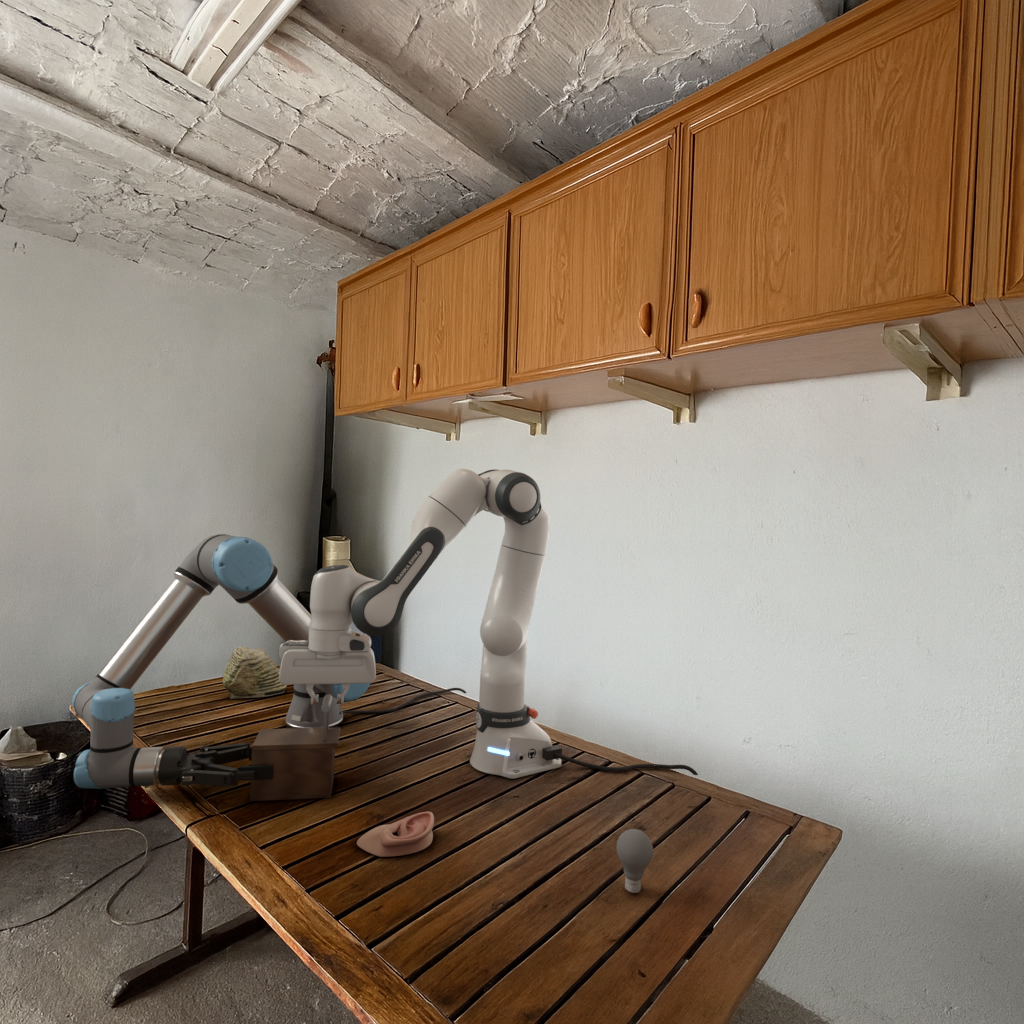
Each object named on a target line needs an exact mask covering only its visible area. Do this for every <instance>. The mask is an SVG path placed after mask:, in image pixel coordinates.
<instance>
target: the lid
mask: <svg viewBox="0 0 1024 1024" xmlns="http://www.w3.org/2000/svg"><path fill="white" fill-rule="evenodd" d="M331 702H332V695H330V694H327V695H325V697H324V700H323V703H322V707H321V711H322V712H323V713H324V714H323V728H293V729H289V728H261V729H260V730H259V732H258V734H257V735H256V738H255V739H254V741H253V743H252V745H251V747H252V751H256V750H288V749H320V748H335V749H338V748H339V747H338V746H339V741H340V735H341V727H340V726H337V727H332V728H329V710H330V706H331Z"/></svg>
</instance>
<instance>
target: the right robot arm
mask: <svg viewBox="0 0 1024 1024" xmlns="http://www.w3.org/2000/svg"><path fill="white" fill-rule="evenodd" d="M482 511H485V512H487V513H491V514H492V515H495V516H497V517H502V518H503V522H504V534H503V536H502V537H503V538H502V541H501V544H500V548H499V553H498V557H497V562H496V565H495V570H494V574H493V579H492V582H491V586H490V588H489V593H488V596H487V600H486V603H485V608H484V612H483V615H482V619H481V623H480V627H479V634H480V636H479V637H480V639H481V642H482V652H481V653H482V655H481V665H480V673H479V674H480V676H479V696H478V700H479V701H478V704H476V705H477V706H476V716H475V724H476V735H475V740H474V745H473V749H472V753H471V756H470V759H469V764H470V766H472V767H473V768H474V769H475V770H476V771H479V772H482V773H485V774H489V775H496V776H501V777H504V778H507V779H511V780H512V779H518V778H522V777H527V776H530V775H534V774H538V773H542V772H547V771H550V770H554V769H558V768H561V767H562V766H563V765H562V764H563V763H562V760H563V761H566V762H569V763H571V764H575V765H578V766H581V767H585V768H589V769H593V770H597V771H598V770H599V771H604V772H612V773H613V772H614V773H616V772H617V773H618V772H619V773H620V772H626V771H632V770H638V769H661V770H686V771H688V772H690V773H691V774H692V775H694V776H698V775H699V773H698V772H697V771H696V770H695V769H694V768H693V767H692V766H689V765H686V764H661V763H659V764H658V763H636V764H631V765H626V766H619V767H618V766H617V767H614V766H604V765H599V764H594V763H589V762H585V761H582V760H579V759H575V758H572V757H570V756H566V755H564V754H563V748H562V747H561V746H559V745H557V744H554V745H553V744H552V739H551V737H550V735H549V734H548V732H546V731H545V730H544V729H542V727H540V725H538V724H536V722H534V721H533V720H536V719H538V717H539V711H538V710H536V709H535V708H531V707H530V706H529V705H528V704H525V696H526V694H525V693H526V674H527V657H528V656H527V655H528V654H527V653H528V635H529V627H530V624H531V619H532V616H533V615H532V614H533V610H534V606H535V601H536V597H537V593H538V588H539V584H540V580H541V575H542V571H543V567H544V563H545V559H546V556H547V555H546V554H547V550H548V546H549V545H548V544H549V538H550V524H551V520H550V519H551V518H550V515H549V514H548V512H547V511H546V509H543V508H542V502H541V490H540V488H539V484H538V483H537V482H536V480H535V479H533V477H531V476H530V475H528V474H526V473H523V472H519V471H515V470H512V469H489V470H485V471H483V472H480V473H476V472H475V471H473V470H471V469H468V468H458V469H456V470H454V471H453V472H452V473H451V474H449V475H448V476H447V477H446V478H444V480H442V481H441V482H440V483H439V484H438V485H437V486H436V487H435V488H434V489H433V491H431V493H430V494H429V495H428V497H426V499H425V500H424V501H423V502H422V504H421V505H420V507H419V508H418V510H417V511H416V513H415V515H414V516H413V518H412V521H411V531H410V538H409V541H408V544H407V546H406V547H405V550H404V551H403V553H402V554H401V555H400V556H399V558H398V559H397V561H396V562H395V563H394V564H393V565H392V567H391V568H390V570H389V571H388V572H386V573H387V574H386V575H385V576H384V577H383V578H382V579H381V580H377V579H374V578H371V577H368V576H365V575H363V574H361V573H359V572H358V571H356V570H354V569H352V567H351V566H349V565H346V564H335V565H329V566H325V567H322V568H320V569H318V570H317V571H316V572H315V573H314V575H313V576H312V581H311V586H310V594H309V595H310V596H309V597H310V598H309V609H310V614H311V621H310V624H309V640H297V641H293V640H288V641H287V642H286V641H284V642H282V643H281V644H280V646H279V648H278V658H279V659H280V666H279V670H280V672H279V681H280V682H281V684H283V685H289V686H291V685H293V686H294V685H296V684H306V690H307V692H308V693H309V695H310V697H311V704H318V702H319V699H318V698H319V694H315V693H314V691H313V686H314V684H343V689H344V690H343V691H342V693H341V694H337V703H336V704H340V705H344V702H345V701H344V696H345V694H346V693H347V691H348V689H349V686H350V684H361V683H370V684H373V683H374V682H375V680H376V679H377V667H376V665H377V664H376V657H375V652H374V650H373V649H372V648H371V647H372V638H371V637H379V636H383V635H386V634H388V633H390V632H392V631H393V630H394V629H395V628H396V627H397V625H399V623H400V620H401V618H402V615H403V613H404V607H405V604H406V602H407V600H408V598H409V596H410V595H411V593H412V592H413V590H414V589H415V588H416V586H417V585H418V584H419V583H420V581H421V580H422V579H423V577H424V576H425V574H426V573H427V571H428V570H429V569H430V567H431V566H432V565H433V563H434V562H435V561H436V560H437V559H438V557H440V555H442V553H444V551H446V550H447V548H448V547H450V546H451V544H452V543H453V542H454V541H455V540H456V539H458V537H459V536H460V535H461V534H462V533H463V531H464V530H465V529H466V527H467V526H468V525H469V524H470V522H472V520H473V518H474V517H475V516H477V514H479V513H480V512H482ZM352 624H353V625H354V626H355V627H356V629H357V630H358V631H360V632H358V631H356V630H355V631H354V630H352ZM531 719H533V720H531ZM654 765H655V766H654Z"/></svg>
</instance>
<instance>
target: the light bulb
mask: <svg viewBox="0 0 1024 1024" xmlns="http://www.w3.org/2000/svg"><path fill="white" fill-rule="evenodd" d="M615 849H616V854H617V857H618V859H619V861H620V863H621V865H622V867H623V873H624V874H623V875H624V876H625V878H624V888H625V890H627V891H628V892H630V893H634V894H635V893H639V892H640V891H641V889H642V887H641V886H642V879H643V877H644V875H645V871H646V868H647V867H648V866H649V864H650V863H651V861H652V859H653V855H654V847H653V843H652V841H651V838H649V836H648V835H647V834H646V833H645V832H643V831H642V830H641V829H636V828H629V829H627V830H625V831H623V832H622V833H621V834H620V835H619V837H618V839H617V841H616V847H615Z"/></svg>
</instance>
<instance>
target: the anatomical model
mask: <svg viewBox="0 0 1024 1024" xmlns="http://www.w3.org/2000/svg"><path fill="white" fill-rule="evenodd" d="M434 826H435V815H434V814H433V812H431V811H422V812H418V813H415V814H411V815H409V816H406V817H404V818H402V819H399V820H397V821H395V822H392V823H389V824H388V823H387V824H382V825H378V826H376V827H374V828H372V829H370V830H368V831H367V832H365V833H364V834H363V835H361V836H360V837H359V838H358V839H357V841H356V845H357V847H359V848H360V849H362V850H363V851H365V852H366V853H369V854H371V855H373V856H375V857H376V856H377V857H380V858H385V857H386V858H387V857H397V856H405V855H410V854H414V853H418V852H420V851H423V850H425V849H427V848H428V847H430V845H431V844H432V842H433V838H434V834H433V829H434Z"/></svg>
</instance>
